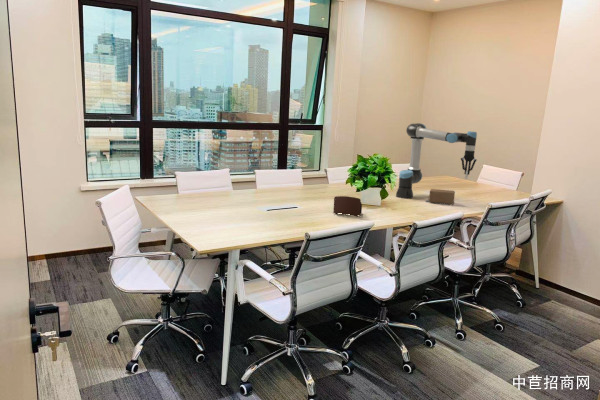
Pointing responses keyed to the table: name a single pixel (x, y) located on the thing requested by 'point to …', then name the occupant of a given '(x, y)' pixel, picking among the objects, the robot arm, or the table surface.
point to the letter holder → (347, 205)
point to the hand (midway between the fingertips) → (466, 178)
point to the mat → (437, 203)
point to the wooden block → (441, 196)
